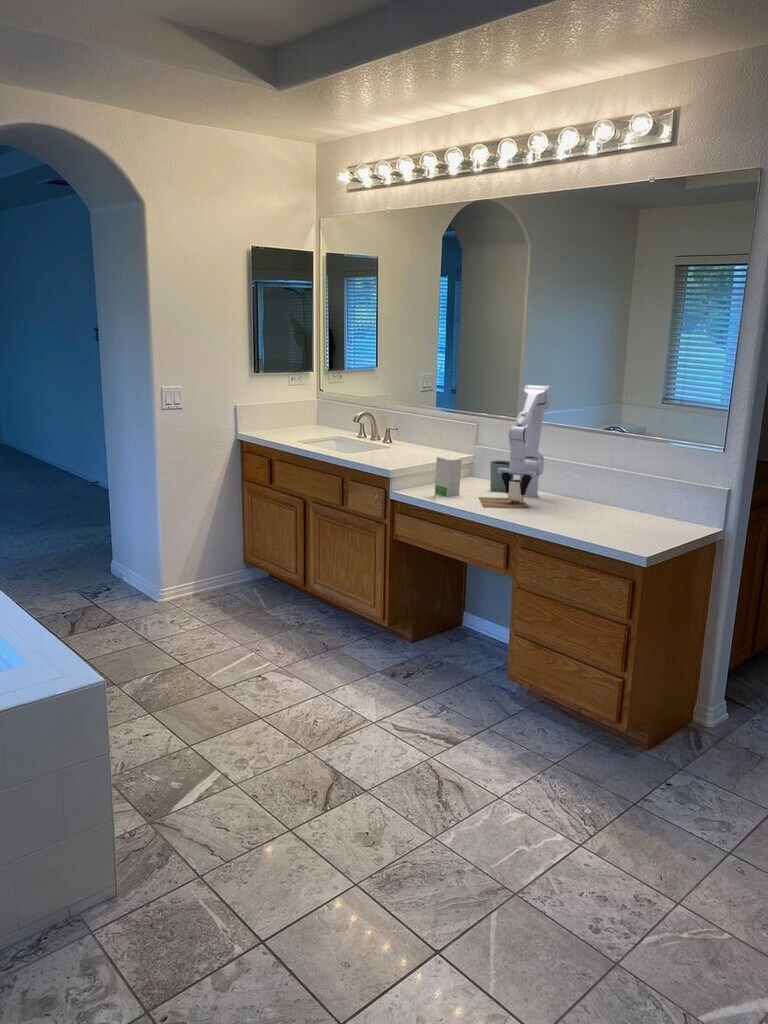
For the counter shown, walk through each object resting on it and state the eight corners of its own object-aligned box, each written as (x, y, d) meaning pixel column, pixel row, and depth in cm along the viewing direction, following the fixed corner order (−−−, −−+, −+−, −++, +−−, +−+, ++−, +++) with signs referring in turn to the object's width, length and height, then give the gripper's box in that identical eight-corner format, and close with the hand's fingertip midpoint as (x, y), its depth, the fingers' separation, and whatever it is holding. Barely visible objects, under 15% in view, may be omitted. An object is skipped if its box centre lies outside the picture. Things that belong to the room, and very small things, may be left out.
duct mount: (478, 499, 312) (478, 487, 311) (521, 500, 312) (522, 487, 311) (483, 510, 295) (484, 497, 294) (529, 511, 295) (530, 497, 294)
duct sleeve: (505, 499, 302) (506, 481, 300) (511, 496, 307) (512, 478, 305) (519, 501, 299) (520, 482, 298) (525, 498, 304) (526, 480, 302)
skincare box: (434, 495, 319) (435, 456, 316) (446, 493, 323) (447, 455, 320) (448, 499, 313) (449, 459, 309) (460, 497, 317) (462, 458, 313)
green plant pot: (485, 489, 332) (486, 460, 329) (507, 488, 335) (508, 459, 332) (495, 494, 323) (496, 465, 320) (518, 493, 326) (519, 464, 323)
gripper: (495, 457, 300) (493, 493, 303) (532, 461, 292) (530, 498, 296) (502, 455, 305) (500, 490, 309) (539, 458, 298) (536, 494, 302)
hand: (515, 493), depth 303 cm, fingers closed on duct sleeve, 5 cm apart
